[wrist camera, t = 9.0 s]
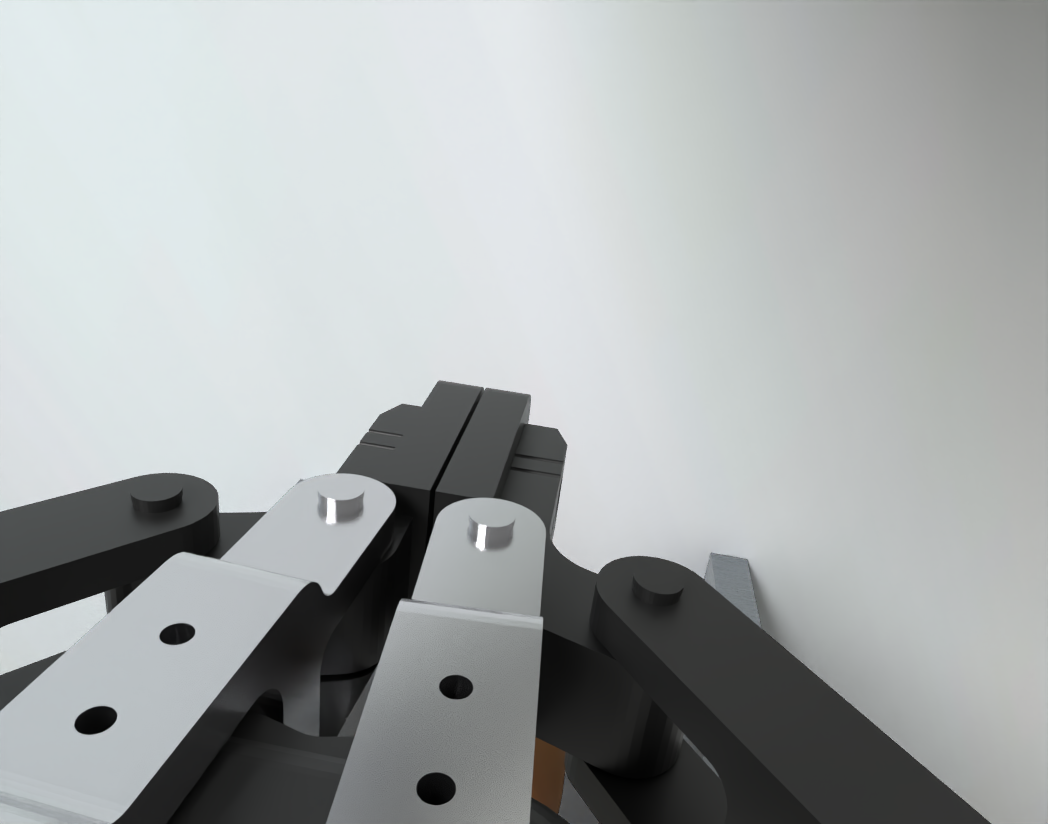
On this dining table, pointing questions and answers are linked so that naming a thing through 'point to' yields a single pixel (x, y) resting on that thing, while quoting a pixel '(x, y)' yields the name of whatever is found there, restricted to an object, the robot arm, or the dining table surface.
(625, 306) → the dining table surface
